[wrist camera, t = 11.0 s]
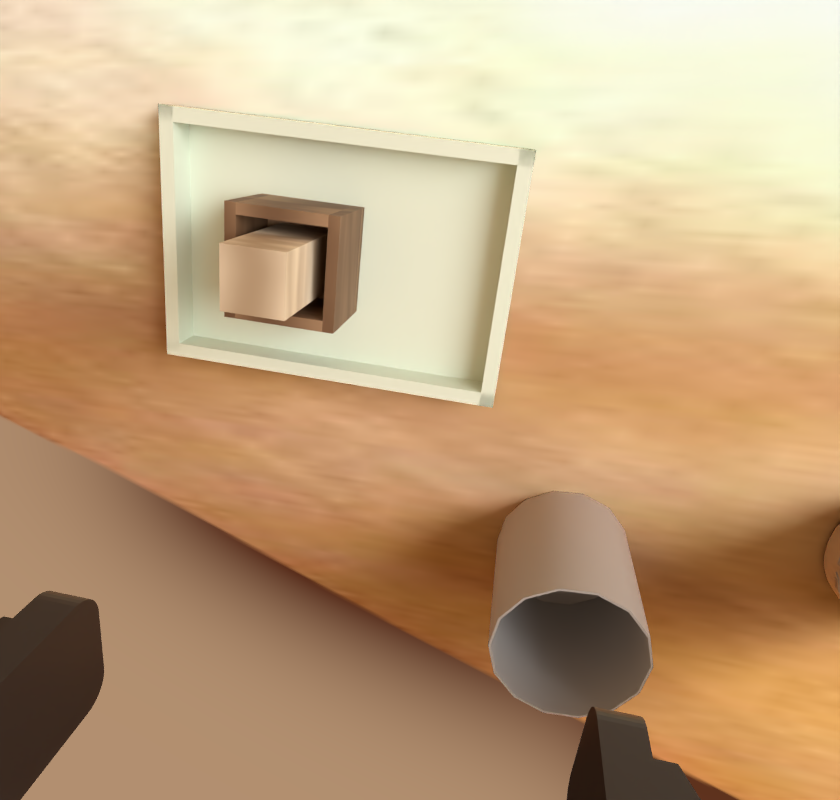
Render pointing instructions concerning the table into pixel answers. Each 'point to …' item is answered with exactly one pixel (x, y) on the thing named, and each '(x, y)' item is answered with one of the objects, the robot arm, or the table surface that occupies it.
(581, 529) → the cup
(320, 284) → the peg
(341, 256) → the open drawer box
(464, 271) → the tray
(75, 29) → the table surface
